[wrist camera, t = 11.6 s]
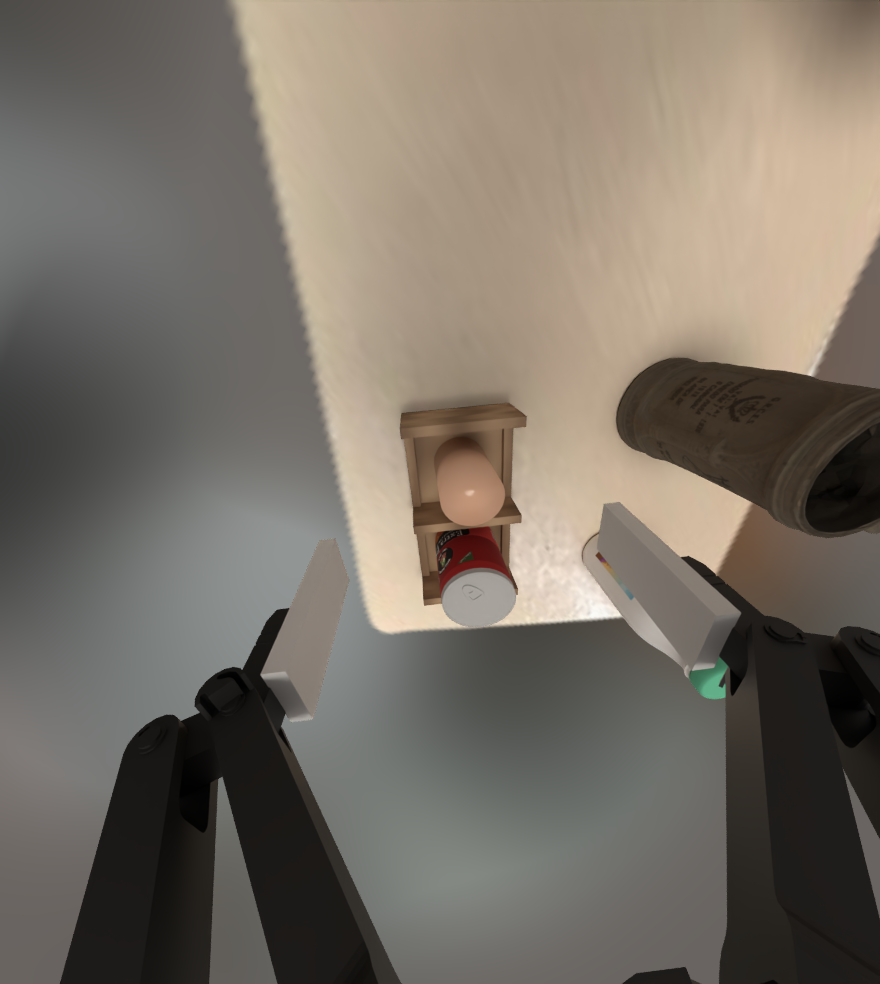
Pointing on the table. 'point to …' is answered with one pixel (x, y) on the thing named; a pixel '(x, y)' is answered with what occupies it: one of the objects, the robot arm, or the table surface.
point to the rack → (421, 445)
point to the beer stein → (765, 439)
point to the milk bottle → (648, 622)
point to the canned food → (473, 577)
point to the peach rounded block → (467, 482)
